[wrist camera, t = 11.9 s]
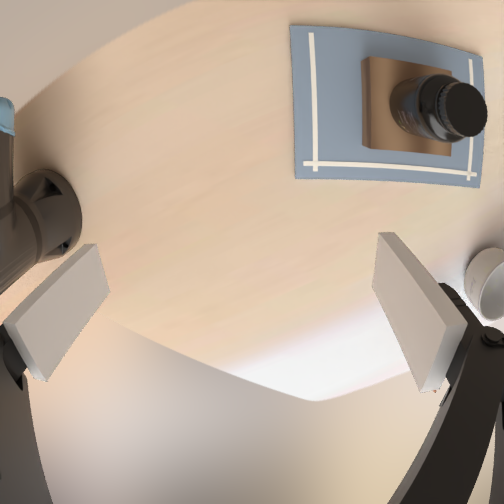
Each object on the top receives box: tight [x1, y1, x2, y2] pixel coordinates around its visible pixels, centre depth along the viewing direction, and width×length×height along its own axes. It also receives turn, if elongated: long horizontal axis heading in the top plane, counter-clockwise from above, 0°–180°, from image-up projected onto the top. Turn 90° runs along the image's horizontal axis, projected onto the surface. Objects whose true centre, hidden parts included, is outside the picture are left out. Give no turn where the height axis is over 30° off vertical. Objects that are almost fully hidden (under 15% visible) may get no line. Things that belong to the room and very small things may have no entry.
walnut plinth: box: [361, 56, 452, 157], centre depth 31 cm, size 11×11×4 cm
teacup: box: [464, 247, 504, 321], centre depth 39 cm, size 14×11×8 cm
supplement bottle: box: [389, 73, 488, 143], centre depth 24 cm, size 7×7×12 cm
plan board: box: [290, 25, 485, 188], centre depth 33 cm, size 28×20×1 cm
